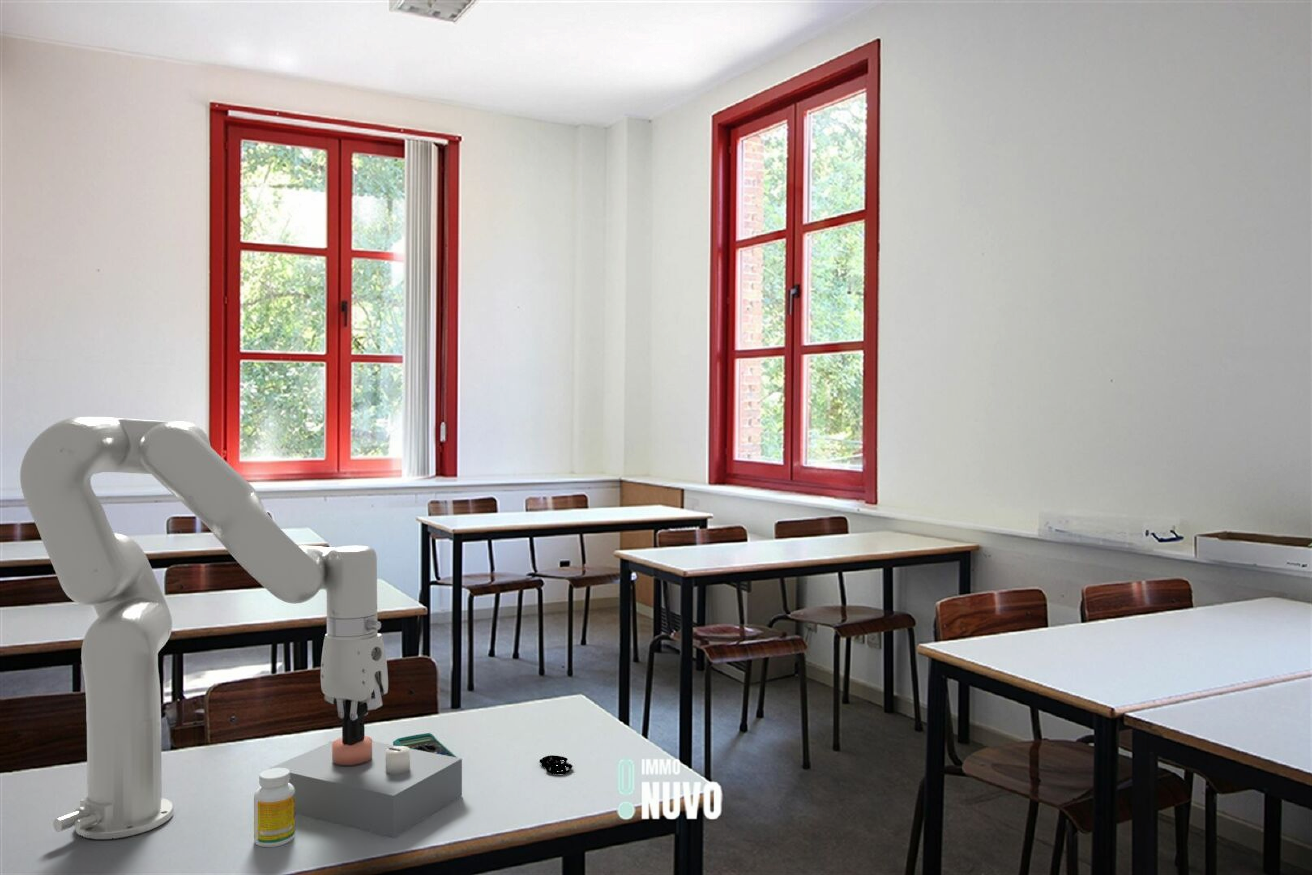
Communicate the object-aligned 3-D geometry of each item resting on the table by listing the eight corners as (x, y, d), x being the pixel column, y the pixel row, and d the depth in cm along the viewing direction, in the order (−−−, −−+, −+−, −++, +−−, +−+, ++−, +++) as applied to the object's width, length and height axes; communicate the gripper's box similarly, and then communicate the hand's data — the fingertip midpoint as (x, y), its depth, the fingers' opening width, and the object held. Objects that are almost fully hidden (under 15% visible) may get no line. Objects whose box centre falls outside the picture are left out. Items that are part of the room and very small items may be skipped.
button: (353, 784, 144) (353, 751, 144) (323, 777, 146) (323, 745, 146) (380, 770, 149) (380, 738, 149) (351, 764, 152) (351, 733, 152)
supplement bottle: (247, 839, 133) (247, 772, 133) (284, 827, 137) (284, 762, 137) (264, 852, 130) (264, 783, 129) (302, 839, 134) (301, 772, 133)
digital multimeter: (417, 781, 156) (417, 763, 156) (391, 753, 169) (391, 737, 168) (460, 773, 160) (460, 755, 160) (431, 746, 172) (431, 730, 172)
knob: (399, 775, 142) (399, 754, 142) (380, 771, 143) (380, 750, 143) (414, 767, 145) (414, 746, 145) (396, 763, 146) (396, 743, 146)
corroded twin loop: (548, 779, 157) (548, 773, 157) (535, 762, 164) (535, 756, 164) (577, 775, 159) (577, 769, 159) (563, 758, 166) (563, 752, 166)
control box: (393, 837, 134) (393, 795, 134) (270, 806, 145) (269, 767, 144) (461, 796, 149) (461, 758, 149) (345, 771, 159) (345, 735, 159)
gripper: (406, 625, 148) (407, 741, 148) (333, 616, 154) (334, 728, 154) (372, 635, 141) (374, 757, 141) (298, 626, 147) (299, 742, 148)
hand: (353, 741), depth 148 cm, fingers closed
